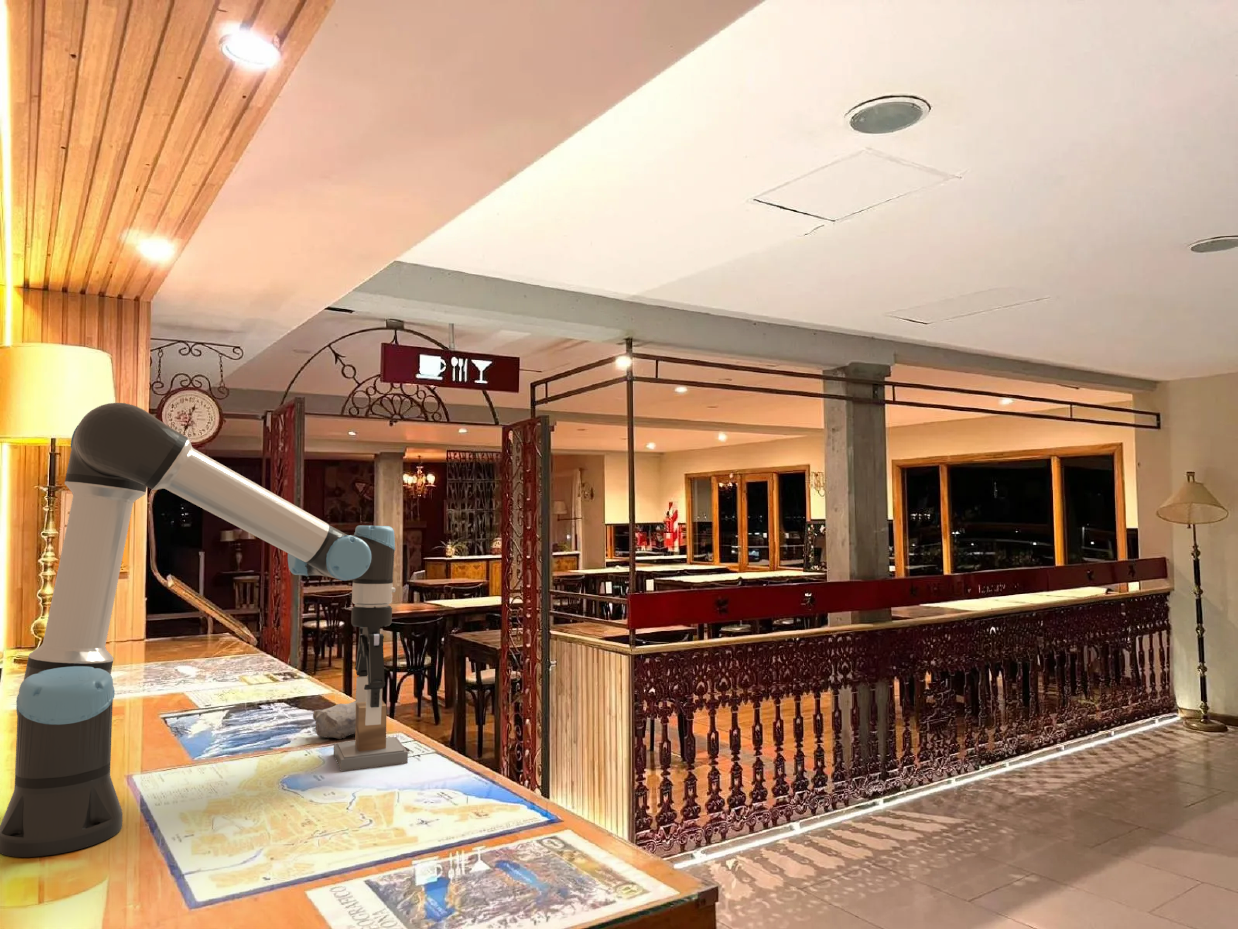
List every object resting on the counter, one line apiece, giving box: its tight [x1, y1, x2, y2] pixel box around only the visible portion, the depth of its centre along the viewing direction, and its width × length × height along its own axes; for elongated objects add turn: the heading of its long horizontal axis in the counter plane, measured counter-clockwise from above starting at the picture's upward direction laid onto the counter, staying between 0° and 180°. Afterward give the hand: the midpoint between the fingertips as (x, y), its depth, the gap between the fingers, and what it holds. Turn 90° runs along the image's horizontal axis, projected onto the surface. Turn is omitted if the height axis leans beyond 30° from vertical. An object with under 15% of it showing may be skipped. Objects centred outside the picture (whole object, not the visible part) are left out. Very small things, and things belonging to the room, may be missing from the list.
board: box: [333, 736, 409, 771], centre depth 161 cm, size 12×12×2 cm
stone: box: [312, 700, 356, 740], centre depth 178 cm, size 8×12×7 cm, turn 124°
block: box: [354, 700, 388, 751], centre depth 161 cm, size 5×5×8 cm
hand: (367, 717), depth 161 cm, fingers open, 13 cm apart
